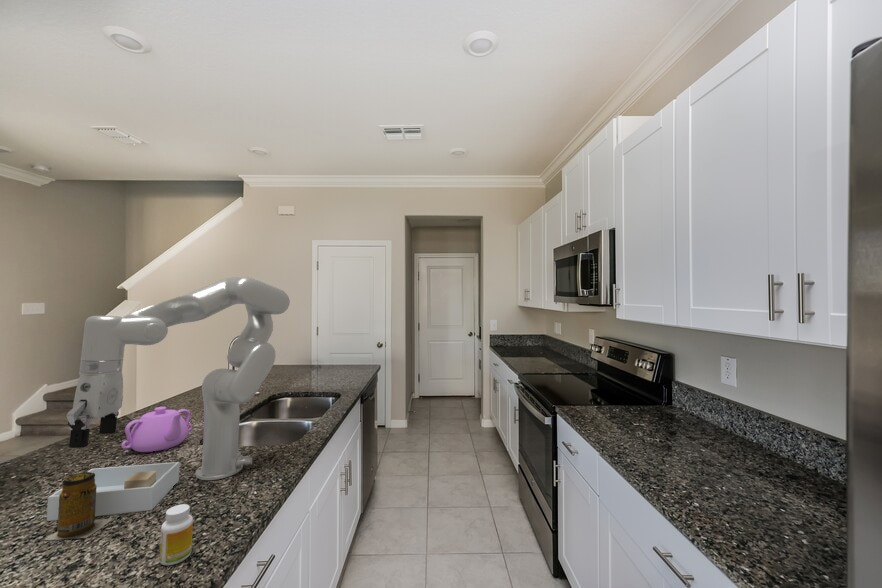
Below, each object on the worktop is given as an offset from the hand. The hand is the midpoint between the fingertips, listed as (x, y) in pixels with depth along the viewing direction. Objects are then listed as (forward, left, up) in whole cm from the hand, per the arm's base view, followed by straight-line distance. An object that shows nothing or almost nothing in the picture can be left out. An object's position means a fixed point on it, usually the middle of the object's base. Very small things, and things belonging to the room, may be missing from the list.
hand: (93, 439), depth 85 cm
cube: (-5, -11, -19) cm, 22 cm away
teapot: (+6, -48, -20) cm, 52 cm away
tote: (0, -11, -19) cm, 22 cm away
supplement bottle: (-24, +17, -20) cm, 36 cm away
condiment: (+1, +2, -20) cm, 20 cm away
